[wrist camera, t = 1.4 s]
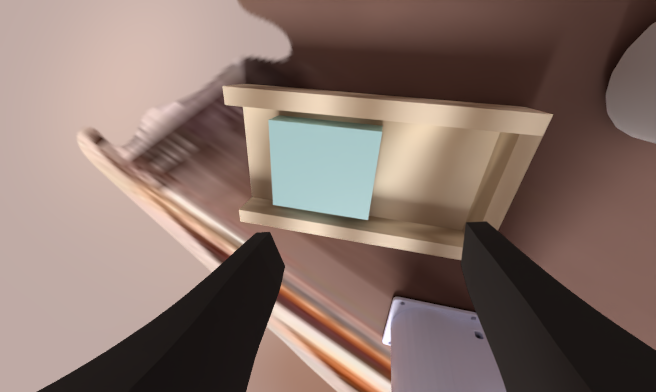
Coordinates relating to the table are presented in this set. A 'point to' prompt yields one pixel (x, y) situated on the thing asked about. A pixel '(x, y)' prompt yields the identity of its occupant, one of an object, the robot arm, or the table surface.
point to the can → (635, 89)
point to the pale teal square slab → (323, 164)
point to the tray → (401, 164)
